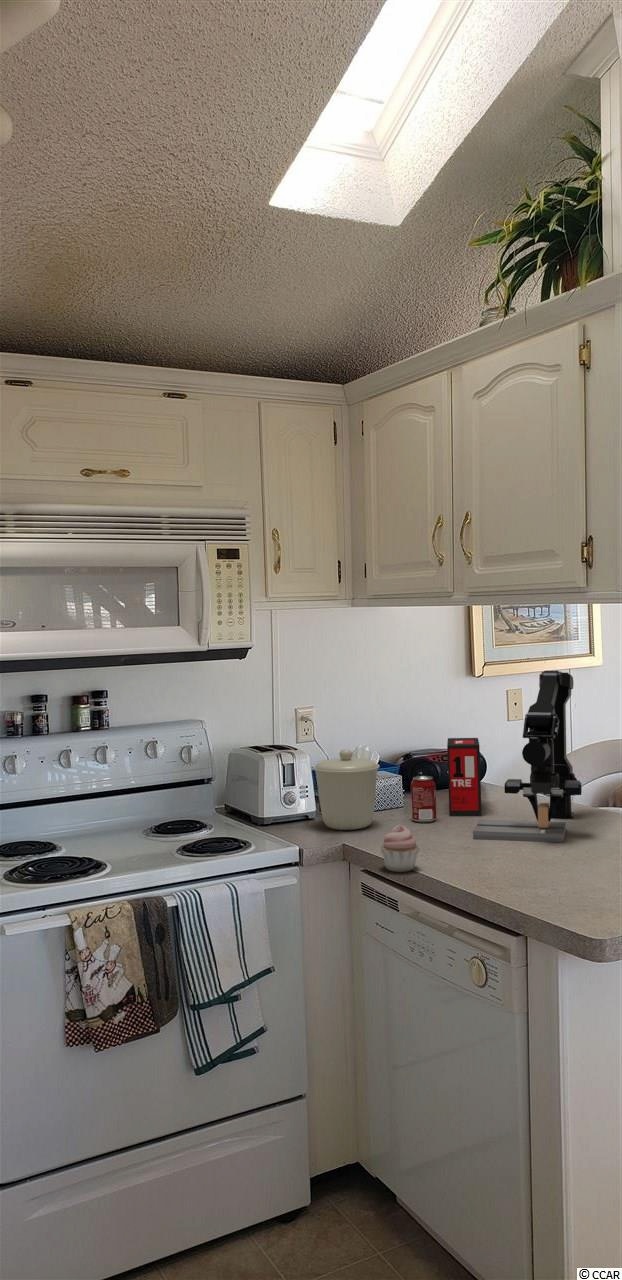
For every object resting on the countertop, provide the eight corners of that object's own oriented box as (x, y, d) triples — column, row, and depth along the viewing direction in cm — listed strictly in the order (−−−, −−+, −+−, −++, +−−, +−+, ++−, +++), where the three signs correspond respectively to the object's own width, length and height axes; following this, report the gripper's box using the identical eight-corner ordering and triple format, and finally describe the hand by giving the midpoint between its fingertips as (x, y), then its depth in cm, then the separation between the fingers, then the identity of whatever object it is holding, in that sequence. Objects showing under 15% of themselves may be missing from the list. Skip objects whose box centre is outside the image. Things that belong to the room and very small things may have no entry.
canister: (316, 835, 245) (313, 755, 244) (313, 820, 263) (311, 746, 262) (385, 832, 245) (382, 752, 245) (377, 818, 263) (375, 743, 263)
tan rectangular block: (540, 827, 240) (539, 802, 239) (549, 827, 239) (548, 803, 239) (538, 832, 234) (537, 807, 234) (548, 832, 233) (547, 807, 233)
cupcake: (387, 876, 203) (385, 830, 203) (374, 865, 212) (372, 821, 212) (427, 872, 205) (426, 826, 205) (413, 861, 214) (411, 818, 214)
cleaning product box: (449, 804, 279) (447, 738, 279) (480, 804, 278) (478, 737, 277) (449, 816, 263) (447, 745, 262) (481, 816, 261) (479, 745, 261)
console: (480, 826, 248) (480, 818, 248) (566, 829, 241) (565, 820, 241) (473, 838, 235) (472, 829, 235) (563, 842, 228) (563, 832, 228)
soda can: (435, 823, 254) (434, 779, 253) (410, 823, 255) (409, 779, 255) (437, 818, 260) (436, 775, 260) (413, 818, 262) (411, 775, 261)
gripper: (501, 763, 231) (503, 826, 231) (579, 764, 225) (581, 829, 226) (505, 757, 242) (507, 817, 242) (580, 758, 236) (582, 819, 236)
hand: (543, 820), depth 236 cm, fingers closed on tan rectangular block, 2 cm apart
